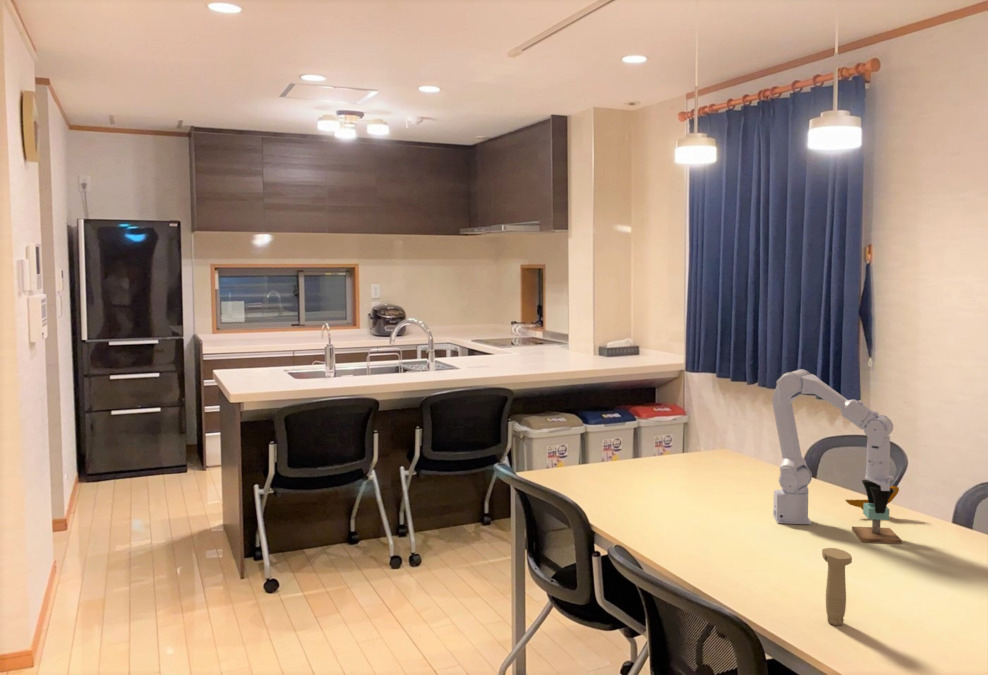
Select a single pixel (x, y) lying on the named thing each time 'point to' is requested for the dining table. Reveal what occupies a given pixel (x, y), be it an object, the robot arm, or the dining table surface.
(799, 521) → the robot arm
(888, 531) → the post block
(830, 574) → the handle
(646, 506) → the dining table surface
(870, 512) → the collar
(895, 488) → the toy
